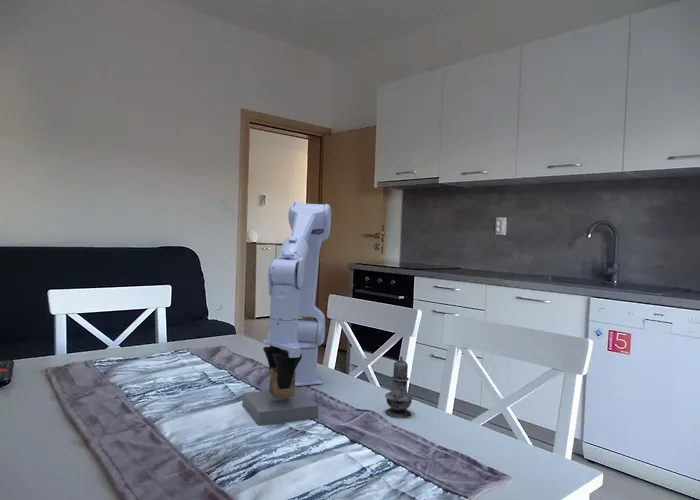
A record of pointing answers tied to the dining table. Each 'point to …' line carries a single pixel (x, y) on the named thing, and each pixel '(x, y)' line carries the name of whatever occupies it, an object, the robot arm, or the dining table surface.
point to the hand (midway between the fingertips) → (280, 384)
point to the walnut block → (274, 386)
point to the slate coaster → (279, 407)
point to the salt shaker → (399, 392)
